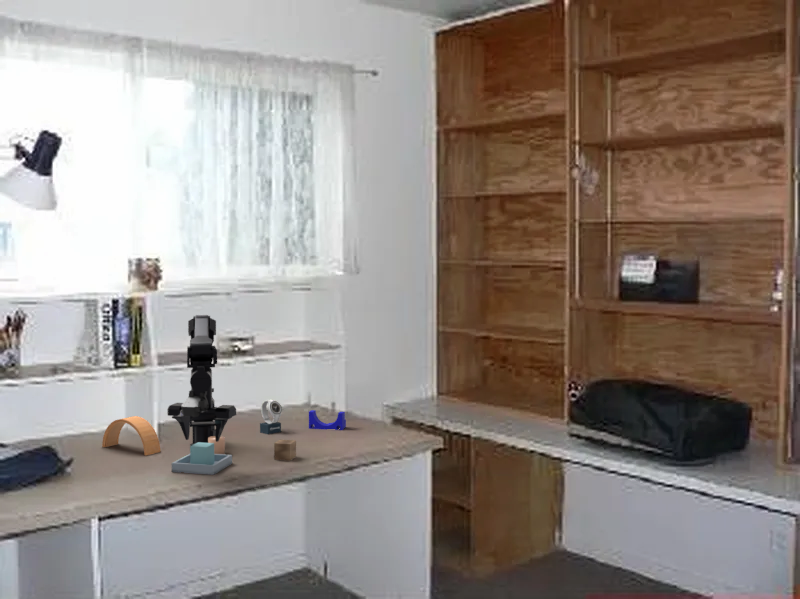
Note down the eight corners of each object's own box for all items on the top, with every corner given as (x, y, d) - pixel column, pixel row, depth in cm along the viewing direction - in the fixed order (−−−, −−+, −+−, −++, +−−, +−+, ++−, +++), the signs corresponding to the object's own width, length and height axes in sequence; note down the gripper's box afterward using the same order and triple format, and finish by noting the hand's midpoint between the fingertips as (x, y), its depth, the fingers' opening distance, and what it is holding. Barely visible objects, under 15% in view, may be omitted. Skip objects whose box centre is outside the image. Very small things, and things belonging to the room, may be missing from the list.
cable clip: (345, 428, 302) (345, 410, 302) (342, 430, 298) (342, 413, 298) (312, 426, 305) (312, 409, 304) (308, 429, 301) (308, 411, 300)
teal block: (190, 467, 246) (190, 446, 246) (198, 462, 251) (198, 442, 251) (206, 468, 245) (206, 447, 245) (214, 463, 250) (214, 443, 250)
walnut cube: (274, 459, 258) (274, 443, 257) (280, 455, 263) (280, 439, 262) (290, 461, 257) (290, 444, 256) (296, 456, 261) (296, 440, 261)
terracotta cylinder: (205, 455, 263) (205, 439, 262) (212, 451, 267) (212, 435, 267) (220, 456, 261) (220, 439, 261) (227, 452, 266) (227, 436, 266)
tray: (171, 471, 243) (171, 463, 243) (192, 460, 256) (192, 452, 256) (213, 474, 241) (213, 465, 240) (232, 463, 253) (232, 454, 253)
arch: (145, 456, 262) (145, 423, 261) (102, 447, 273) (101, 415, 272) (160, 452, 267) (160, 420, 266) (117, 443, 277) (116, 412, 277)
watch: (271, 435, 290) (271, 402, 289) (256, 431, 295) (256, 399, 294) (284, 432, 294) (284, 400, 293) (270, 429, 299) (269, 397, 298)
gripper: (157, 389, 241) (158, 445, 242) (220, 392, 237) (220, 448, 238) (176, 383, 252) (177, 436, 253) (236, 385, 247) (237, 439, 248)
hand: (202, 440), depth 247 cm, fingers open, 9 cm apart
